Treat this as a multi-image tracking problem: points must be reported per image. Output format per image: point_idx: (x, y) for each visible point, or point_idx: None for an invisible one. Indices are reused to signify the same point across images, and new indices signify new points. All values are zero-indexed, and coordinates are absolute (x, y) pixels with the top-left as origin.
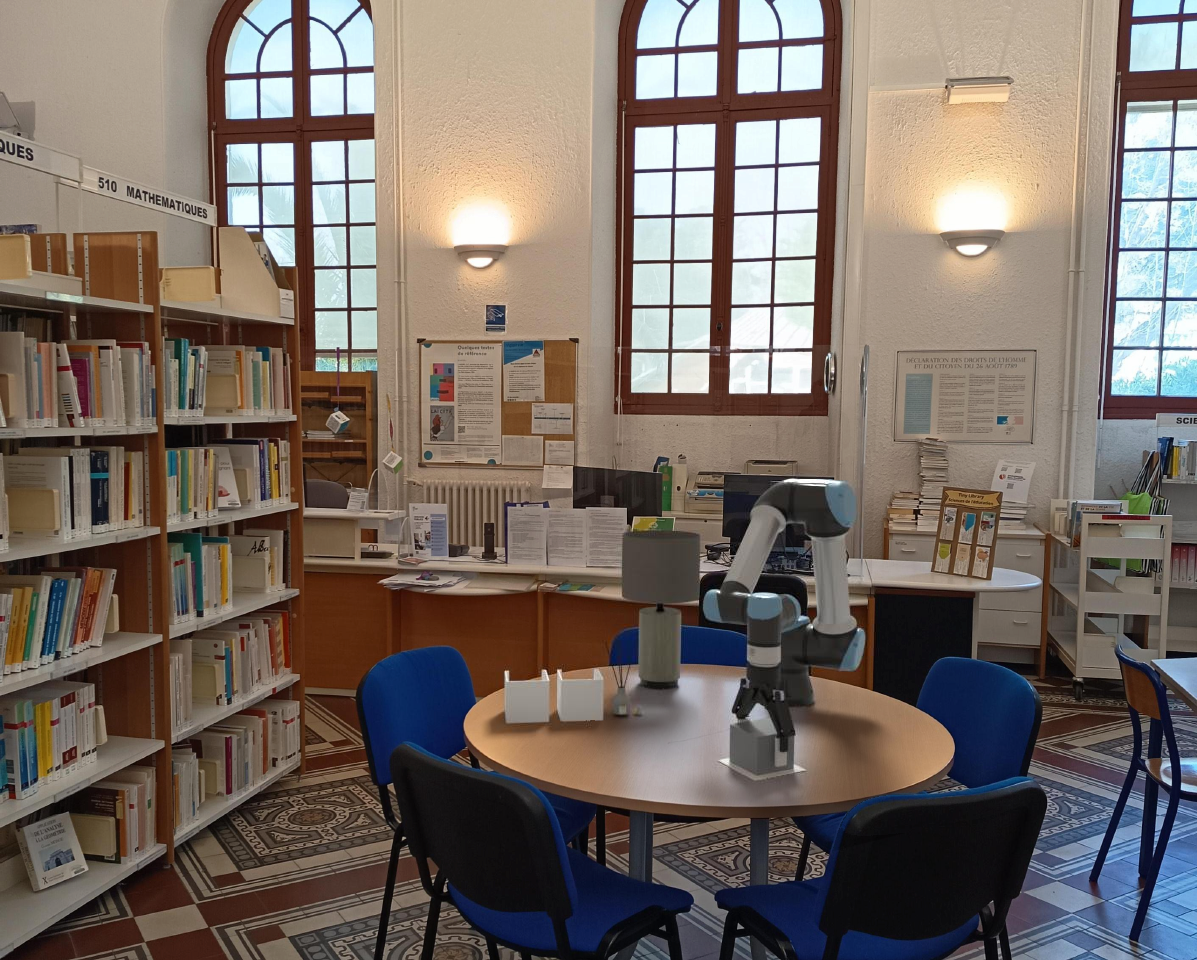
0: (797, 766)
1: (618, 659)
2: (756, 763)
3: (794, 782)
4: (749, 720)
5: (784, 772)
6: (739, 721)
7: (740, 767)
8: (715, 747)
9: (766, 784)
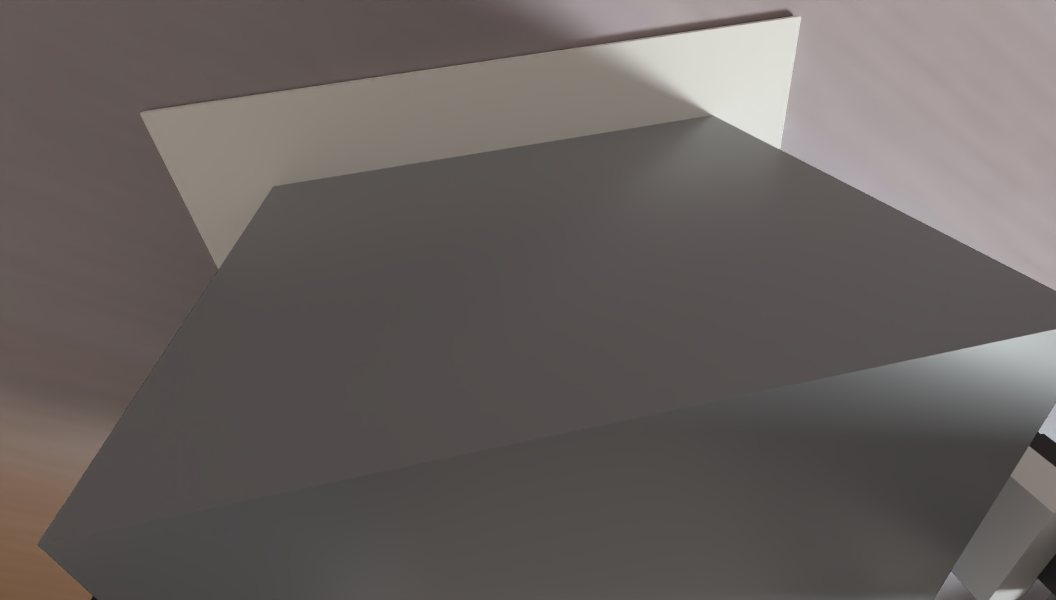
0: None
1: None
2: (244, 236)
3: (109, 407)
4: (967, 584)
5: None
6: (1050, 489)
7: (532, 140)
8: (1024, 166)
9: (33, 179)
